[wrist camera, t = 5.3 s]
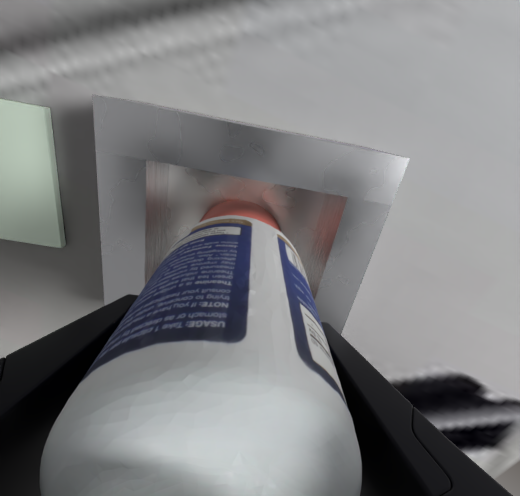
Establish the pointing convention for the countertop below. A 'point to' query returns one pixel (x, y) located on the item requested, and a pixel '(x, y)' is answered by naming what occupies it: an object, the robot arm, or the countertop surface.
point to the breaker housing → (236, 194)
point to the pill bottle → (211, 383)
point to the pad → (29, 176)
